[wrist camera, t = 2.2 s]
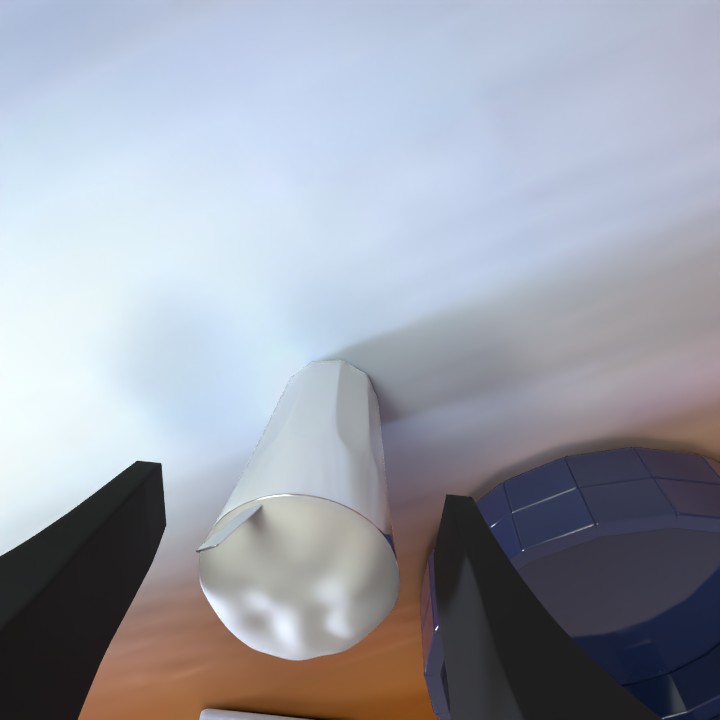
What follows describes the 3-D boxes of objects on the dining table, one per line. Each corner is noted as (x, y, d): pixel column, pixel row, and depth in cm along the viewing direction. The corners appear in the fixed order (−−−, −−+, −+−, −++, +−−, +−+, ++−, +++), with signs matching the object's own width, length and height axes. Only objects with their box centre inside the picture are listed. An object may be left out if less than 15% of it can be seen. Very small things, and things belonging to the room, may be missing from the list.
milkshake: (357, 300, 18) (326, 513, 9) (413, 429, 20) (433, 704, 11) (234, 346, 19) (98, 579, 10) (300, 464, 21) (236, 743, 12)
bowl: (707, 711, 27) (757, 809, 23) (399, 678, 27) (401, 770, 23) (863, 462, 20) (967, 544, 16) (453, 417, 20) (467, 490, 16)
